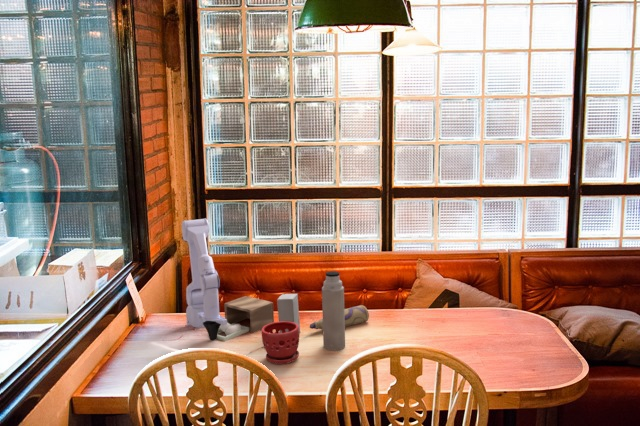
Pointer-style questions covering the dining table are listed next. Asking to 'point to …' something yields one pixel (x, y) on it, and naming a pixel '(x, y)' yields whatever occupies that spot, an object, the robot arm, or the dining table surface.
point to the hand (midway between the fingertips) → (213, 339)
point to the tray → (244, 330)
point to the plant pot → (281, 342)
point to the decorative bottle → (348, 317)
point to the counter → (250, 312)
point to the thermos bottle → (333, 312)
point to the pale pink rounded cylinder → (233, 329)
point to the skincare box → (288, 309)
